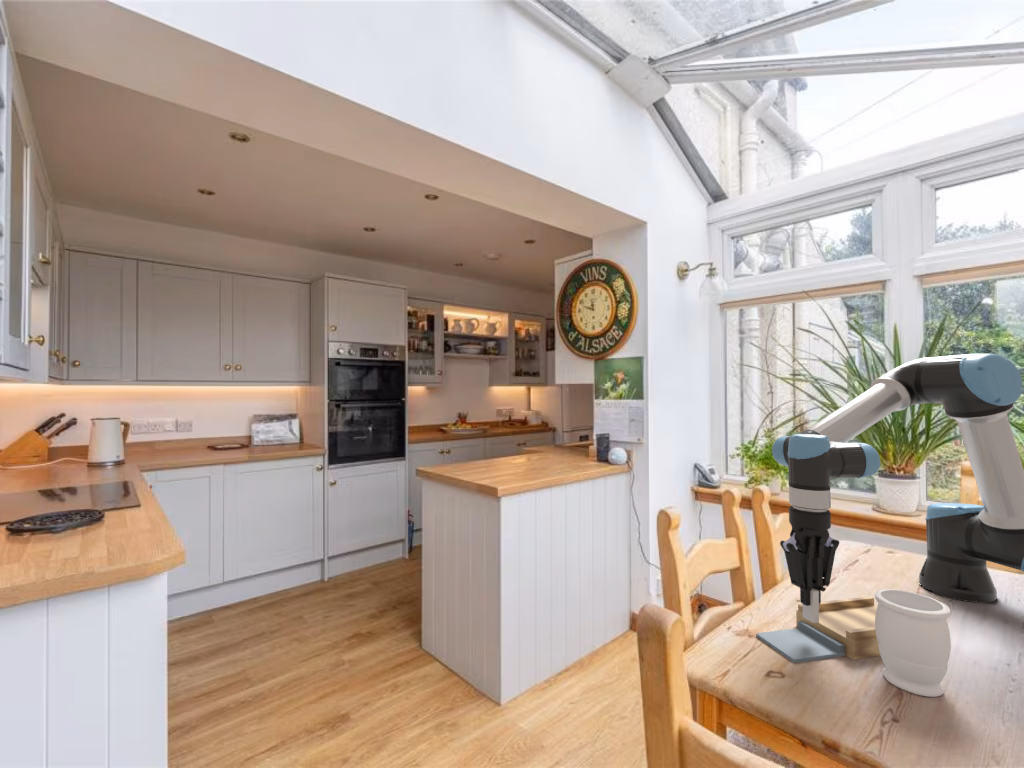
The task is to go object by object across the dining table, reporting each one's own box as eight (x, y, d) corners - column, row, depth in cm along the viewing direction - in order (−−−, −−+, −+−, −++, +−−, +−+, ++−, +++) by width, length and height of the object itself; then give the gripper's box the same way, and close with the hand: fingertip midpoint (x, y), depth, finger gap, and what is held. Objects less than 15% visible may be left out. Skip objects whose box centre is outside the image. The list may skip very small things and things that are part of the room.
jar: (966, 696, 82) (965, 609, 83) (924, 707, 79) (923, 617, 80) (901, 662, 93) (900, 585, 93) (861, 671, 90) (860, 591, 90)
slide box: (868, 616, 112) (868, 595, 112) (932, 648, 98) (932, 623, 98) (796, 625, 107) (796, 603, 107) (853, 659, 94) (852, 634, 94)
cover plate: (802, 632, 105) (802, 620, 105) (844, 658, 95) (844, 644, 95) (756, 638, 103) (755, 626, 103) (794, 665, 92) (793, 651, 93)
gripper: (820, 502, 106) (821, 608, 105) (769, 505, 103) (770, 614, 102) (850, 510, 98) (852, 624, 98) (797, 513, 95) (798, 631, 95)
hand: (810, 619), depth 100 cm, fingers closed
